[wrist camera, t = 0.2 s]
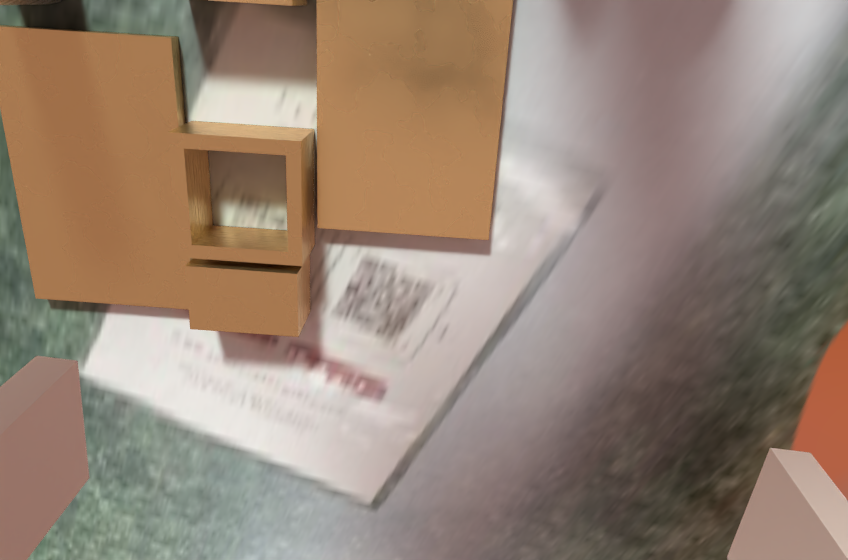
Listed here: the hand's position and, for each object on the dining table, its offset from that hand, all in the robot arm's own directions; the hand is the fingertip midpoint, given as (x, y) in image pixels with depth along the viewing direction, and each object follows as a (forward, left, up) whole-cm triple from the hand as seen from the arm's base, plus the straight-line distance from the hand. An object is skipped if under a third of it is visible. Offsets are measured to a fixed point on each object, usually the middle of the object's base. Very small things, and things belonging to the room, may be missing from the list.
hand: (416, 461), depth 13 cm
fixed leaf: (+2, -16, -27) cm, 32 cm away
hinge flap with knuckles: (-3, -6, -27) cm, 28 cm away
